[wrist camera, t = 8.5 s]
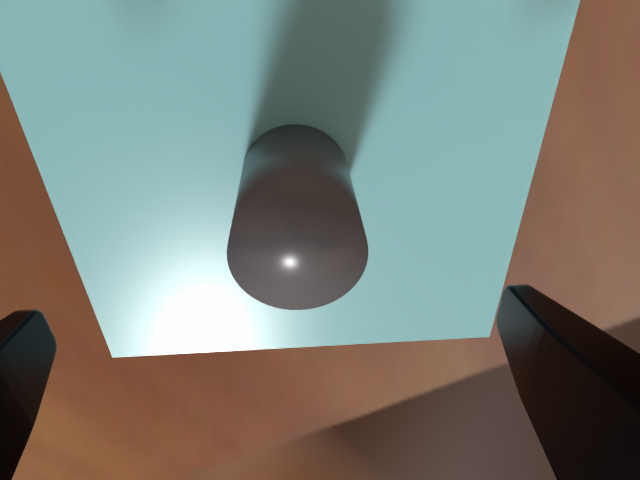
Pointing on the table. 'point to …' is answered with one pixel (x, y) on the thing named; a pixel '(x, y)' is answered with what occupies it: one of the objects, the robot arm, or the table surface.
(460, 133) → the cover
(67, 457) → the table surface
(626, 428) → the robot arm
